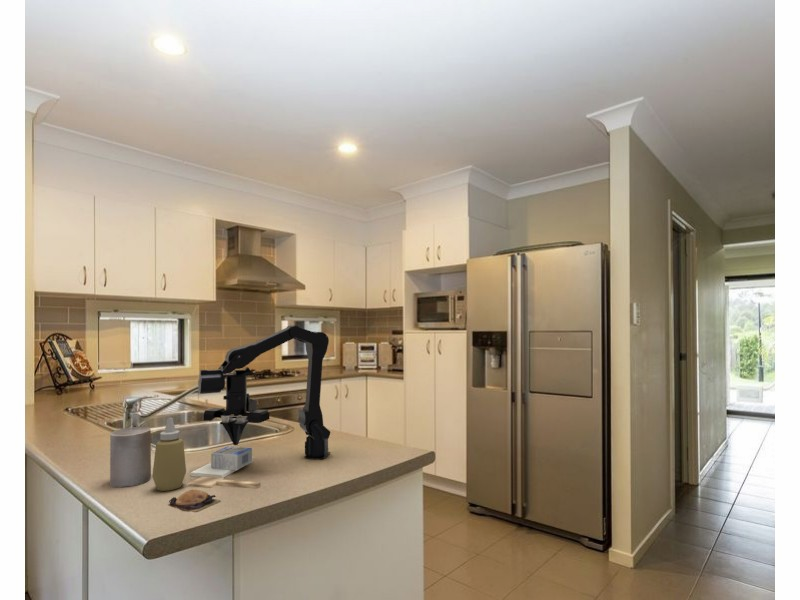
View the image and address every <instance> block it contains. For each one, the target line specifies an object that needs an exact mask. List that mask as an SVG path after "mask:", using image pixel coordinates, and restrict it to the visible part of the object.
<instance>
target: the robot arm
mask: <svg viewBox="0 0 800 600" xmlns="http://www.w3.org/2000/svg"><path fill="white" fill-rule="evenodd" d="M293 339H294V340H296V341H298V342H301V343H303V344H304V345H305V352H306V355H307V356H306V357H307V358H308V359H307V360H308V361H307V362H308V363H307V376H306V390H305V403H304V406H303V408H299V409H298V419H297V422H298V425H299V426H300V428H301V429H302V431H304V434H305V435H306V437H305V438H306V439H305V441H304V456H303V458H304V459H314V460H324V459H325V458H326V457H328V456H330V455H331V452H330V451H329V439H330V436H331V431H330V430H329V429H328V428H327V427H326V426H325V424H324V417H323V413H322V412H323V411H322V409H321V390H322V389H321V388H322V375H323V374H322V373H323V362H324V361H323V360H324V358H325V356H326V354H327V351H328V346H329V342H330V341H329V340H330V339H329V336H328V335H327V334H326V333H325V332H322V331H311V330H308V329H305V328H302V327H299V326H297V325H291V324H290V325H288V326H286V327H285V328H283V329H281V330H278V331H277V332H274V333H272V334H270V335H268V336H265V337H264V338H261V339H259V340H258V341H256V342H253V343H249V344H245V345H240V346H237V347H233V348H231V349H229V350H228V351H227V352H226V354H225V356H224V359H225V360H224V361H223V362H222V364H221V365H220V366H219V367H218V368H217V369H199V370H200V371H199V376H198V377H199V378H198V380H197V388H198V389H197V390H198V394H199V395H204V394H217V393H222V392H221V391H222V390H226V391H225V394H224V395H223V400H225V408H224V407H213V408H209V409H206V410H204V411H203V413H202V421H204V422H205V421H206V422H208V421H209V422H212V421H213V420H214V419H215V418H219V419H221V421H220V422H219V424H220V425H221V426H223V428H224V429H225V431H226V432H227V434H228V436H229V438H230V440H231V442H232V444H233V446H238V445H239V444H240V443H239V442H240V440H241V437H242V434H243V432H244V430H245V428H246V426H247V425H248V424H249V423H251V424H260V423H264V422H266V421H268V420H270V412H269V411H268V409H257V407H258V401H257V400H255V399H252V398H250V393H247V391H248V389H247V382H248V379H247V378H248V376H254V375H255V373H254V372H253V371H252V370H251V369H250V367H248V365H249V364H251V363H252V362H254V361H255V360H256V359H257V358H258V357H260V356H261V355H262V354H265V353H266V352H268V351H271V350H272V349H275V348H277V347H279V346H281V345H283V344H285V343H287V342H289V341H291V340H293ZM225 388H226V389H225Z"/></svg>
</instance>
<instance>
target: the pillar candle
mask: <svg viewBox="0 0 800 600" xmlns="http://www.w3.org/2000/svg"><path fill="white" fill-rule="evenodd" d="M151 435H152V433H151V427H148V426H135V427H133V425H131V426H130V427H124V428H120V429H117V430H113V431H112V432H110V435H109V438H110V439H109V440H110V441H109V445H110V446H109V447H110V448H109V451H110V453H109V454H110V457H109V458H110V461H109V465H110V467H109V468H110V469H109V473H110V474H109V477H110V479H109V480H110V481H109V483H110V486H111V487H113V488H124V487H134V486H139V485H142V484H144V483H147V482H148V481H150V480H151V478H152V459H151V458H152V447H151V446H152V445H151V444H152V443H151V441H152V439H151V437H152V436H151Z"/></svg>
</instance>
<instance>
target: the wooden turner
mask: <svg viewBox="0 0 800 600" xmlns="http://www.w3.org/2000/svg"><path fill="white" fill-rule="evenodd" d="M215 486H220V487H221V486H223V487H237V488H248V489H249V488H250V489H259V488H260V487H261V481H260V482H259V481H248V480H247V481H246V480H233V479H226V477H224V478H216V477H203V476H202V477H197V479H195V480H192V481H191V482H189V483H187V487H195V488H196V487H197V488H206V489H207V488H208V489H212V488H214V487H215Z"/></svg>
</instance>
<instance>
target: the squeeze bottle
mask: <svg viewBox="0 0 800 600" xmlns="http://www.w3.org/2000/svg"><path fill="white" fill-rule="evenodd" d="M175 426H176V425H175V423H174V418H173V417H167V419H166V424H165V429H164V431H161V432H160V434H159V440H158V441H157V442H156V443H155V449H154V451H155V452H154V459H153V467H152V474H151V478H152V480H153V482H154V485H155V488H156V490H157V491H163V492H164V491H166V492H167V491H172V490H176V489H179V488H181V487H182V485H183V483H184V480H185V476H186V473H187V467H186V466H187V465H186V456H185V446H184V440H183V439H182V438H180V437H181V435H180V430H178V429H176V427H175Z"/></svg>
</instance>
